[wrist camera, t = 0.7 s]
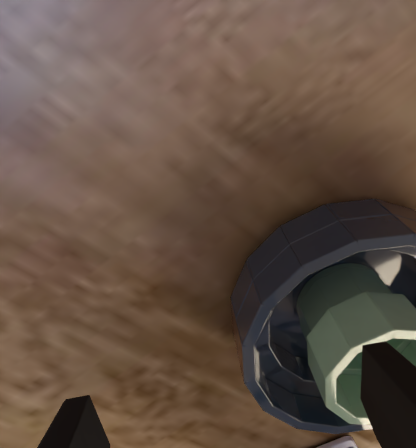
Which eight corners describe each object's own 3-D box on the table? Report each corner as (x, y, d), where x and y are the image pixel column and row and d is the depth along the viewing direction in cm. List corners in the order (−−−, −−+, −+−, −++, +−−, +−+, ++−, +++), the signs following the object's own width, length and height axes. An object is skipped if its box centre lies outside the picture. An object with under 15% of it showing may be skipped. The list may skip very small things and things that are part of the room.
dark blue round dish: (458, 321, 24) (511, 376, 21) (278, 397, 26) (297, 461, 22) (414, 152, 19) (475, 185, 15) (191, 261, 21) (196, 314, 17)
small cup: (402, 313, 23) (467, 393, 18) (308, 354, 23) (345, 441, 19) (377, 238, 20) (444, 307, 15) (272, 286, 21) (303, 367, 16)
